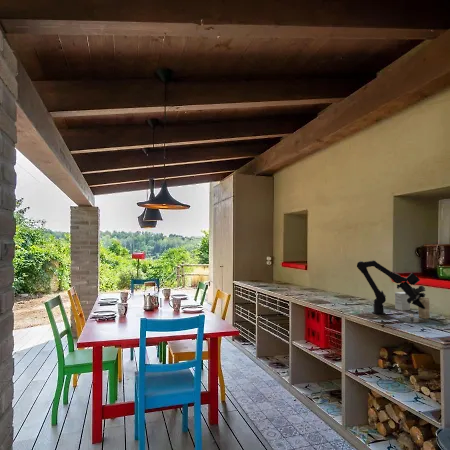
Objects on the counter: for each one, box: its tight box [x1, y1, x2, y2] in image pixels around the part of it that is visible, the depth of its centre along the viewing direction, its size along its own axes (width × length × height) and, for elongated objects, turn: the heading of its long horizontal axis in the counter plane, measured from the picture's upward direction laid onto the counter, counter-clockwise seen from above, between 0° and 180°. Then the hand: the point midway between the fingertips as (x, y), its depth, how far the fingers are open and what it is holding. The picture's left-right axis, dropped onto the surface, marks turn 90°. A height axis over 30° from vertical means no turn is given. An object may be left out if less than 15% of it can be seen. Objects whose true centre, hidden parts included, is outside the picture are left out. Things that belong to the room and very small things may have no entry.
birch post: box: [417, 297, 431, 320], centre depth 240 cm, size 5×5×13 cm
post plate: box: [394, 313, 430, 325], centre depth 232 cm, size 14×14×4 cm
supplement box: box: [394, 291, 411, 312], centre depth 268 cm, size 7×7×13 cm
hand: (426, 308), depth 239 cm, fingers closed on birch post, 5 cm apart
